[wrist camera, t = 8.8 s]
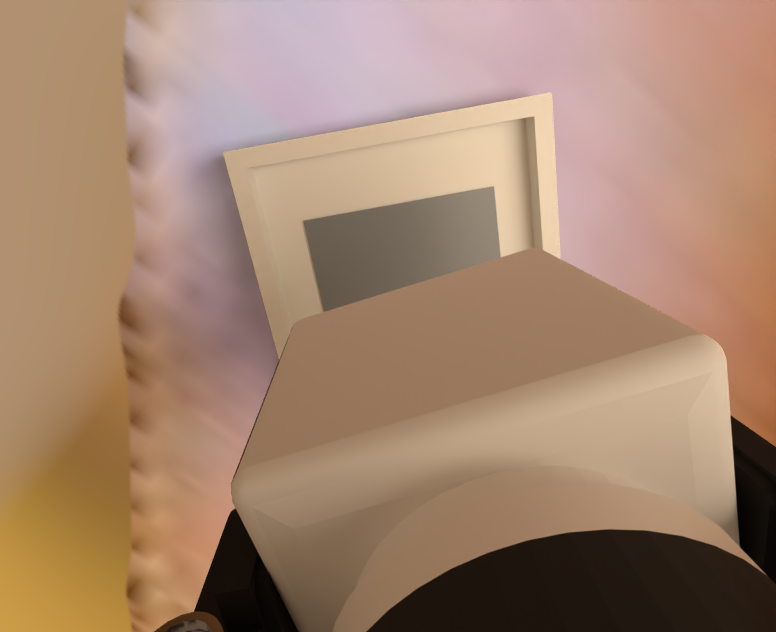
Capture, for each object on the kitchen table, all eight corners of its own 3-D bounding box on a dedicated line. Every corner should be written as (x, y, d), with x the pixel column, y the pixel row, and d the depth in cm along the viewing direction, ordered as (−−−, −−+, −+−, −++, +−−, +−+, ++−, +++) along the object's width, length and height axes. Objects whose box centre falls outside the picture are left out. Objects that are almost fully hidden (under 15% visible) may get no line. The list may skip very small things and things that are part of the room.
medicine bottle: (289, 319, 13) (-151, 1339, 2) (540, 241, 13) (1884, 891, 2) (367, 516, 15) (390, 1514, 4) (582, 455, 15) (1243, 1349, 4)
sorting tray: (235, 152, 22) (222, 151, 20) (533, 97, 22) (551, 92, 20) (311, 443, 27) (307, 467, 25) (553, 400, 27) (568, 421, 25)
